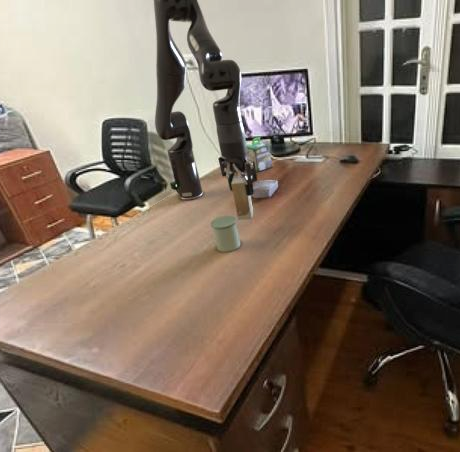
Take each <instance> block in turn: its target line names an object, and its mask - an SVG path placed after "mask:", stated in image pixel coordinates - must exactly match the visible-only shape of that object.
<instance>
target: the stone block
mask: <svg viewBox="0 0 460 452" xmlns="http://www.w3.org/2000/svg"><path fill="white" fill-rule="evenodd" d="M278 188H279V181H278V180H272V179H263V180H259V181H255V182H254V183H253V190H254V193H253V195H251V198H254V199H270V198H271V197H272V196H273V194H274V193H275V192H276V190H277V189H278Z"/></svg>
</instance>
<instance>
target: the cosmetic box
mask: <svg viewBox="0 0 460 452" xmlns="http://www.w3.org/2000/svg"><path fill="white" fill-rule="evenodd" d="M245 177H246V179H247V180H248V177H247V176H245ZM231 185H232V190H233V191H232V195H233V200H234V207H235V209H236V215H237V221H243V220H245V221H246V220H252V219H253V215H254V208H253V202H252V197H251V195H250V196H247V195H246V189H245V183H244V181H243V179H242V178H240V177H239V175H238V176H237V175H235V176H234V177H233V179H232V183H231Z"/></svg>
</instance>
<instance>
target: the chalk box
mask: <svg viewBox="0 0 460 452" xmlns="http://www.w3.org/2000/svg"><path fill="white" fill-rule="evenodd" d="M247 150H248V153H247V154H246V159H247V162H252V161H254V162H255V167H256V173H257V172H258V173H259V172H261V171H264V170H267V169H270V168H273V163H272V162H273V161H272V155H271V148H270V143H268V142H262V141H261V136H259V137H255V138H252V142H251V143H248V144H247Z"/></svg>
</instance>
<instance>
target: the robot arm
mask: <svg viewBox="0 0 460 452" xmlns="http://www.w3.org/2000/svg"><path fill="white" fill-rule="evenodd" d="M153 10H154V11H153V12H154V22H155V23H154V24H155V35H156V36H155V37H156V38H155V39H156V58H155V59H156V61H155V74H156V103H155V113H154V128H155V131H156V134H157V136H158V137H159V139H161V140H163V141H171V140H174V139H176V140H175V142H174V144H172V145H171V146H170V147H168V148H167V153H166V154H167V156H168V159H169V163H170V167H171V171H172V174H173V175H172V176H173V179H174V181H172V182H169V185H170V188H171V190H173V191H176V193H177V195H178V197H179V199H180V200H183V201H190V200H191V201H192V200H196V199H198V198H201V197H202V196H203V195H204V191H203V188H202V183H201V179H200V176H199V170H198V167H197V163H196V159H195V153H194V150H193V147H194V146H193V145H194V143H193V140H192V135H191V128H190V124H189V120H188V118H187V116H186V114H185V113H184V112H182V111H180V110H179V111H173V109H174V106H175V104H176V102H177V101H178V100H179V98H180V96H181V95H182V94H183V92H184V90H185V88H186V84H187V74H188V67H187V62H186V59H185V57H184V56H183V53H182V52H181V51H180V49H179V48H178V46H177V44H176V42H175V40H174V39H173V36H172V34H171V27H170V23H171V22H179V23H189V24H190V26H189V28H188V30H187V33H186V42H187V46H188V48H189V51H190V53H191V54H192V57H194V60H195V61H196V64H197V68H198V75H199V81H200V83H201V85H202V87H203V88H204V89H205V90H207V91H209V92H217V91H225V90H226V94H225V95H224V97H222V98H219V99H217V100H214V102H213V103H212V111H213V115H214V121H215V127H216V135H217V140H218V144H219V145H218V146H219V150H220V155H221V156H220V157H218V165H219V169H220V173H221V177H222V178H223V177H225V179H226V180H227V182H228V183H227V184H228V187H229V190H230V191H231V192H233V190H232V185H231V183H232V179H233V177H236V175H238V176H239V177H240V178H242V179H243V181H244V183H245V189H246V195H247V196H250V195H253V193H254V190H253V185H254V183H256V182H258V175H257V171H256V167H255V162H254V161H252V162H247V159H246V154H247V153H248V150H247V145H248V144H247V140H246V139H247V138H246V133H245V127H244V125H243V120H242V113H241V109H240V108H241V107H240V98H241V97H240V95H241V87H242V72H241V68H240V66H239V65H238V62H236V61H235V60H233V59H223V52H222V50H221V49H220V47H219V45H218V44H217V42H216V40H215V39H214V37H213V36H212V34H211V32H210V30H209V28H208V26H207V22H206V20H205V17H204V14H203V12H202V9H201V5H200V4H199V1H198V0H153ZM245 176H247V177H248V180H247V179H246V177H245Z"/></svg>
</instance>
